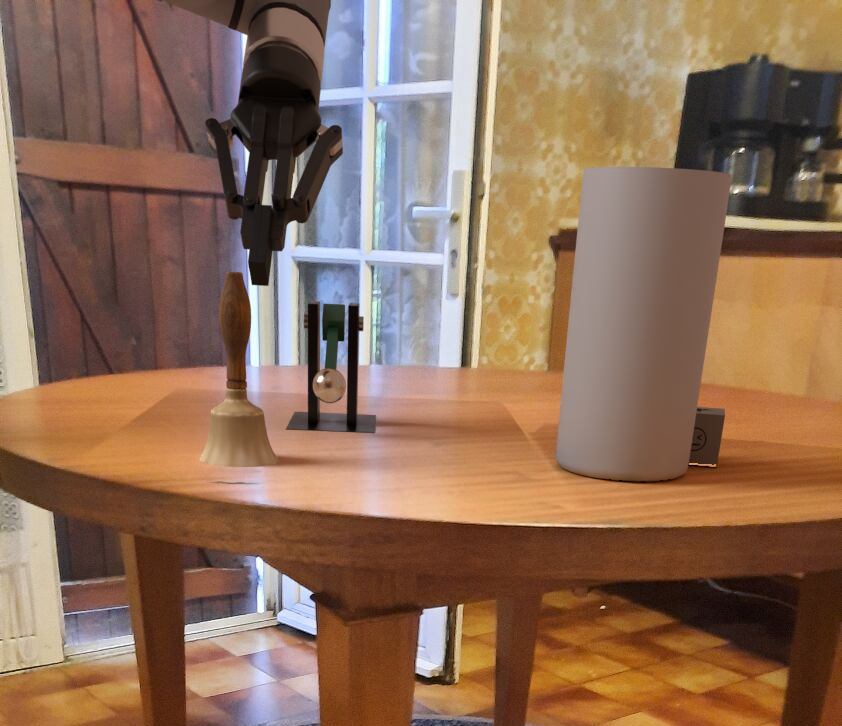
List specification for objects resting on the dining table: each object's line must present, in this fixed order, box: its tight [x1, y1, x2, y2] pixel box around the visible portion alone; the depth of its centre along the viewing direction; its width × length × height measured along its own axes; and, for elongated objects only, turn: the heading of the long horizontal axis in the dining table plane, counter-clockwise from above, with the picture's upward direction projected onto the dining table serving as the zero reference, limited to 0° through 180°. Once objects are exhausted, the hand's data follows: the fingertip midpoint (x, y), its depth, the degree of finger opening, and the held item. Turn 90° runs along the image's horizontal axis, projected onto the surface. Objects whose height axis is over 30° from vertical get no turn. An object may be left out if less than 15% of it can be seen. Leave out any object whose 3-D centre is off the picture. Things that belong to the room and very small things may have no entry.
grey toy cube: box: [689, 406, 726, 466], centre depth 107 cm, size 5×5×5 cm
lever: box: [313, 303, 347, 404], centre depth 105 cm, size 13×3×3 cm, turn 1°
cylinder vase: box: [554, 166, 733, 482], centre depth 96 cm, size 12×12×25 cm
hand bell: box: [199, 271, 279, 484], centre depth 89 cm, size 8×8×16 cm
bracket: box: [285, 300, 377, 434], centre depth 110 cm, size 12×9×13 cm
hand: (258, 273), depth 94 cm, fingers closed
